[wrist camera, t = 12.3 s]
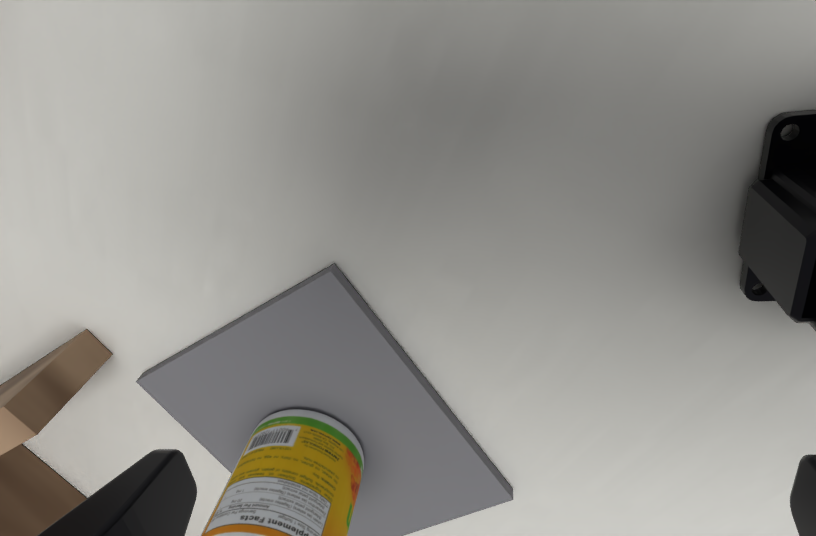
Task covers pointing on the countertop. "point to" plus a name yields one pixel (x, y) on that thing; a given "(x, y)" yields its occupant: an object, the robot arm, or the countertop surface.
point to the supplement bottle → (292, 479)
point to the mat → (333, 403)
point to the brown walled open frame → (23, 419)
